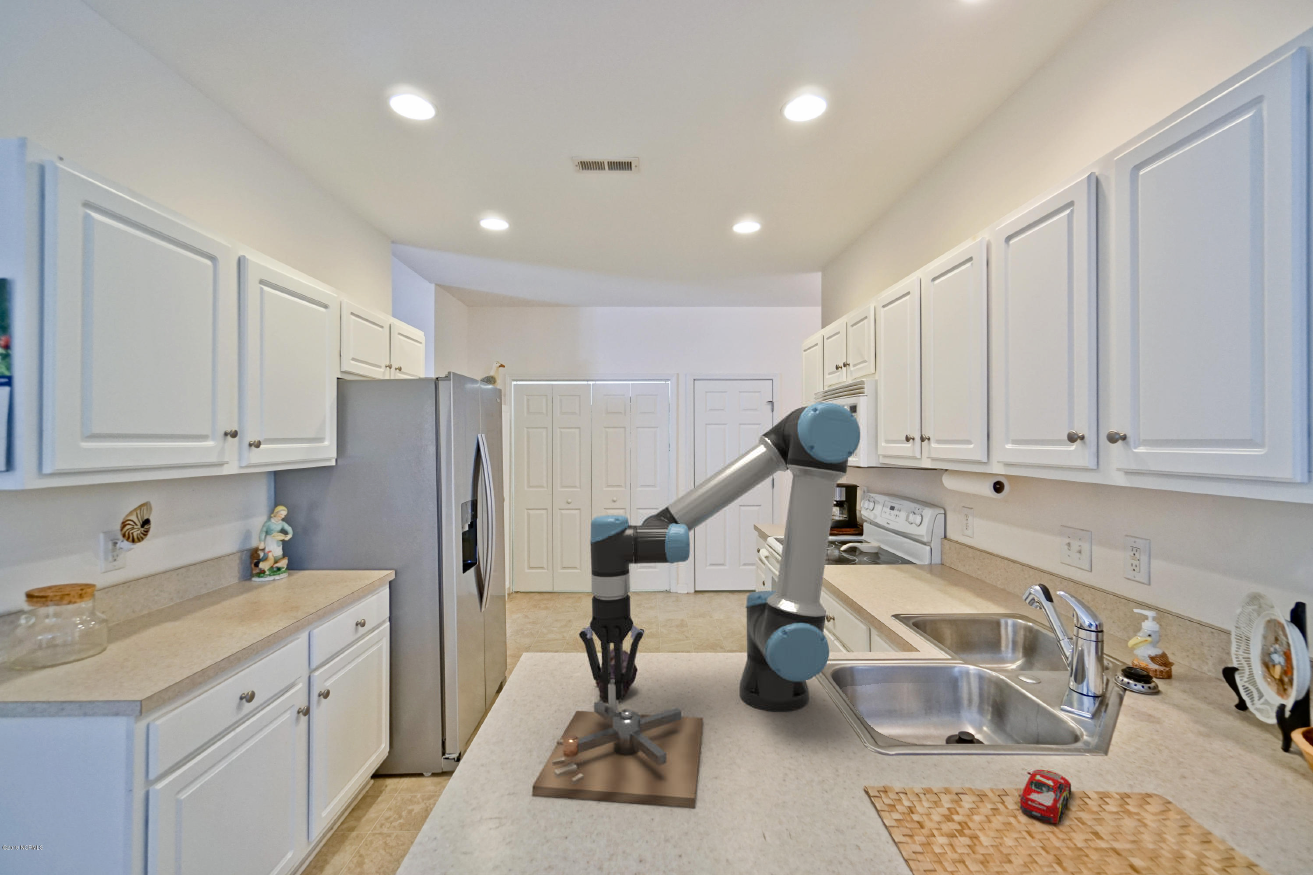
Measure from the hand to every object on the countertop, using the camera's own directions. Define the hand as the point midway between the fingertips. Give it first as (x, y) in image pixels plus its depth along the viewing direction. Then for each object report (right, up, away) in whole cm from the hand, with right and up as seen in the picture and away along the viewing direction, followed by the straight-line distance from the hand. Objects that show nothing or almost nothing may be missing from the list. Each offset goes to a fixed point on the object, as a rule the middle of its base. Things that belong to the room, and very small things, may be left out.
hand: (613, 715), depth 110 cm
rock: (-1, -4, +18) cm, 18 cm away
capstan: (+3, -1, -9) cm, 10 cm away
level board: (+3, -3, -9) cm, 10 cm away
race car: (+69, -3, -22) cm, 73 cm away
